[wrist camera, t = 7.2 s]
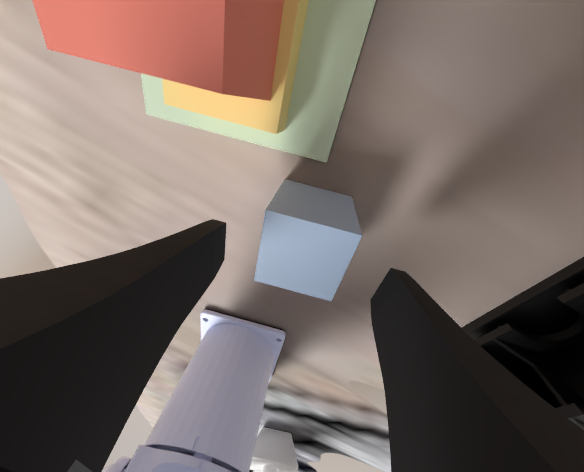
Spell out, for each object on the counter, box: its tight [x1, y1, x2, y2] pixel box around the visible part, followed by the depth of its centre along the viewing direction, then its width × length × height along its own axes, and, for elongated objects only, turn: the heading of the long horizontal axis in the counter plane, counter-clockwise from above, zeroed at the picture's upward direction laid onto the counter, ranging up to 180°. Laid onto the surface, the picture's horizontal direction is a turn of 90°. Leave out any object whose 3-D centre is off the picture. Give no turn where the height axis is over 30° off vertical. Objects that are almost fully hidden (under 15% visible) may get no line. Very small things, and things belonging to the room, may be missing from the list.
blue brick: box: [254, 179, 362, 301], centre depth 11 cm, size 4×4×4 cm
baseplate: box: [141, 0, 376, 163], centre depth 9 cm, size 10×10×1 cm
